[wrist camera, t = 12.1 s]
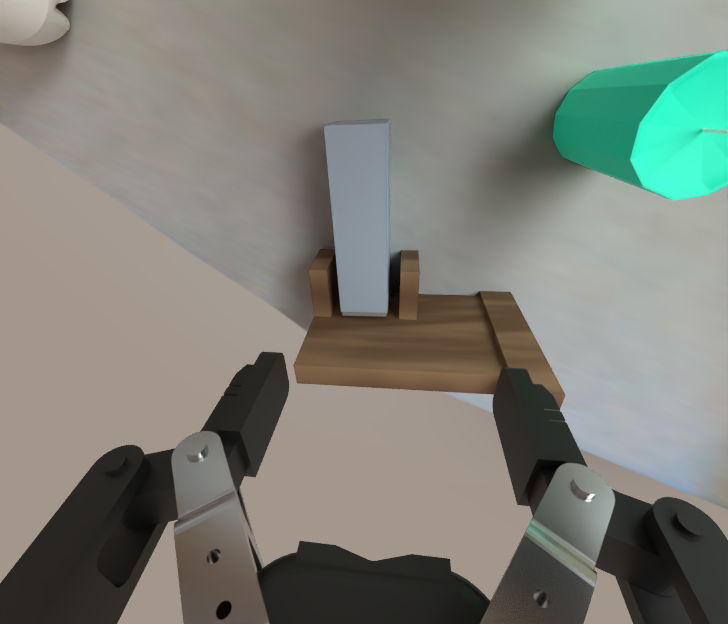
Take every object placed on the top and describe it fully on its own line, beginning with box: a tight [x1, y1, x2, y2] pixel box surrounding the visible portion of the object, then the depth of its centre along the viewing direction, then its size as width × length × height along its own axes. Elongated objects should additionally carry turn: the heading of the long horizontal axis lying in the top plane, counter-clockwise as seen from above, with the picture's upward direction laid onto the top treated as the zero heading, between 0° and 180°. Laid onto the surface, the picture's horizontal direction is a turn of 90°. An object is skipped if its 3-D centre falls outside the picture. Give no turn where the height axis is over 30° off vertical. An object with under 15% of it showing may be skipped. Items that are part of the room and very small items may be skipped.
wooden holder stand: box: [294, 249, 565, 408], centre depth 27 cm, size 7×18×13 cm, turn 92°
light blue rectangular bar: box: [324, 119, 390, 317], centre depth 27 cm, size 14×4×5 cm, turn 2°
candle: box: [552, 50, 728, 201], centre depth 19 cm, size 6×6×12 cm
